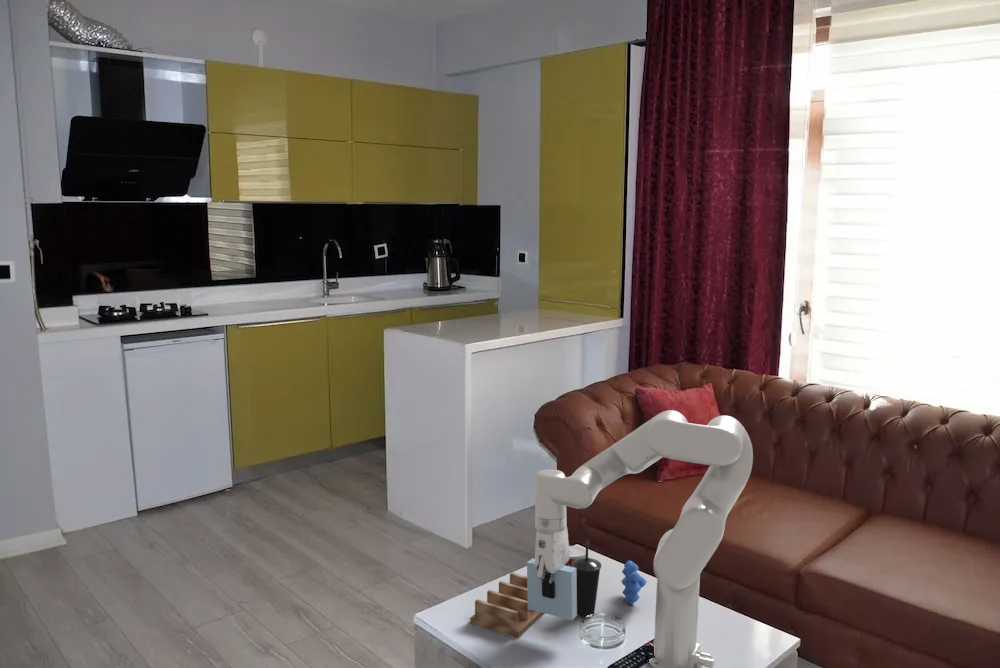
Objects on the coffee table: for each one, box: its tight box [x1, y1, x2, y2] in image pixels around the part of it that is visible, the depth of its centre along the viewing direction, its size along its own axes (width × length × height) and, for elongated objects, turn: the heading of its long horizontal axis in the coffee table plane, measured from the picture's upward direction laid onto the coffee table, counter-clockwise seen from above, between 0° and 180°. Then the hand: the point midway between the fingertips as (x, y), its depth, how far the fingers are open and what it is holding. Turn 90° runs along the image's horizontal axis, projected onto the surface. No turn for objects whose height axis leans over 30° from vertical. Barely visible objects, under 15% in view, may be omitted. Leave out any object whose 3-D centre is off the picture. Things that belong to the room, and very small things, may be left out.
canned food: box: [565, 545, 586, 567], centre depth 209 cm, size 8×8×11 cm
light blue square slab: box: [526, 558, 578, 621], centre depth 181 cm, size 12×3×12 cm, turn 60°
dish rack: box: [470, 572, 545, 639], centre depth 194 cm, size 14×20×6 cm
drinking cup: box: [572, 539, 602, 618], centre depth 194 cm, size 8×8×20 cm
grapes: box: [620, 560, 647, 605], centre depth 200 cm, size 12×7×12 cm, turn 3°
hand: (551, 593), depth 181 cm, fingers closed on light blue square slab, 2 cm apart
